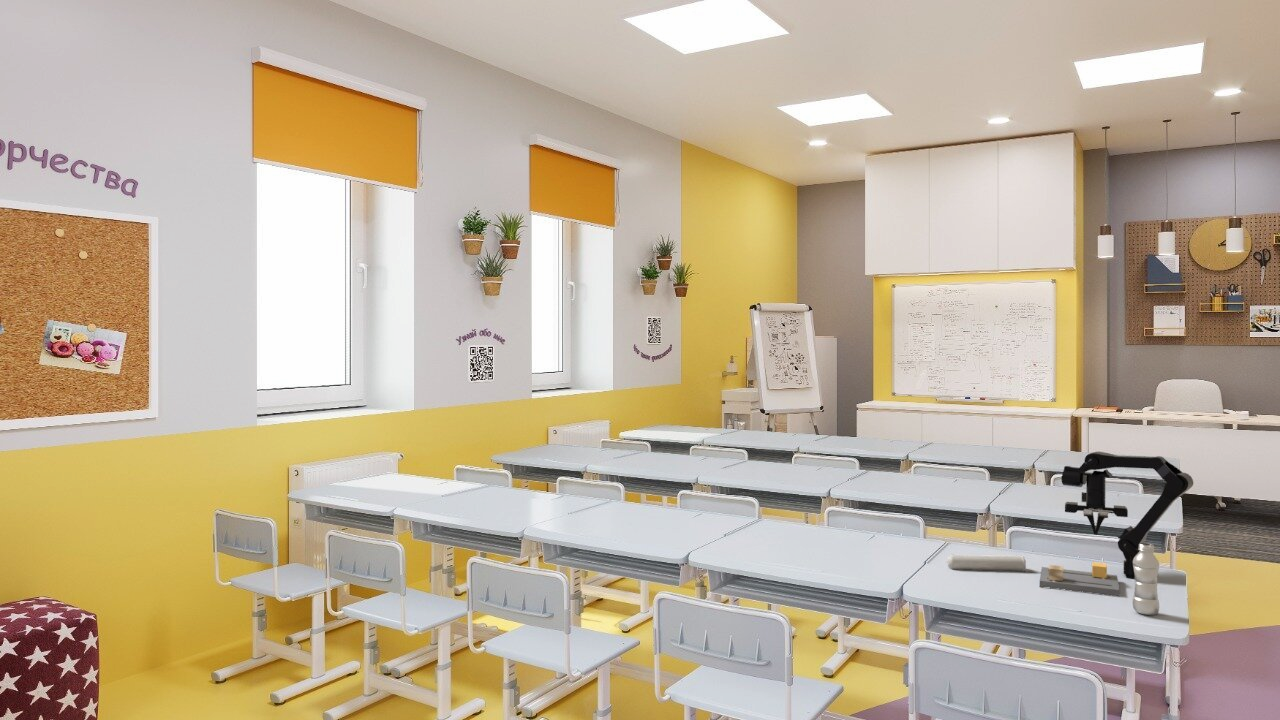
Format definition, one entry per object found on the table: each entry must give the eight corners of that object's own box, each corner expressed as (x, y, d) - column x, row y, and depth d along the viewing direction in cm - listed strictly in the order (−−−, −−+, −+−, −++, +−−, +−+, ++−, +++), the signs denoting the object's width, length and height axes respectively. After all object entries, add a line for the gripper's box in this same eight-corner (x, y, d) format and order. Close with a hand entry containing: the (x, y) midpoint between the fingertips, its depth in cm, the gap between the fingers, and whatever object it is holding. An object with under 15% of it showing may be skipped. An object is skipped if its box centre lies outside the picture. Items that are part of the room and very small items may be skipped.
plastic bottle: (1150, 619, 234) (1151, 548, 234) (1127, 612, 240) (1127, 543, 240) (1164, 615, 237) (1165, 545, 237) (1140, 608, 243) (1141, 540, 243)
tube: (949, 559, 284) (1026, 561, 281) (946, 551, 289) (1021, 552, 286) (948, 573, 286) (1025, 574, 283) (944, 564, 291) (1020, 565, 288)
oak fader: (1063, 577, 268) (1063, 566, 268) (1062, 581, 263) (1062, 570, 263) (1049, 575, 270) (1049, 564, 270) (1048, 579, 265) (1048, 568, 265)
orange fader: (1106, 574, 271) (1106, 563, 271) (1106, 578, 267) (1106, 567, 267) (1092, 572, 273) (1092, 562, 273) (1092, 576, 268) (1092, 565, 268)
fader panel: (1116, 581, 271) (1116, 574, 271) (1119, 596, 255) (1119, 589, 255) (1041, 572, 281) (1041, 566, 281) (1039, 586, 265) (1039, 580, 265)
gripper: (1126, 487, 287) (1125, 532, 288) (1065, 483, 296) (1065, 526, 296) (1128, 492, 278) (1127, 539, 278) (1065, 488, 286) (1064, 533, 287)
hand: (1095, 534), depth 285 cm, fingers closed
